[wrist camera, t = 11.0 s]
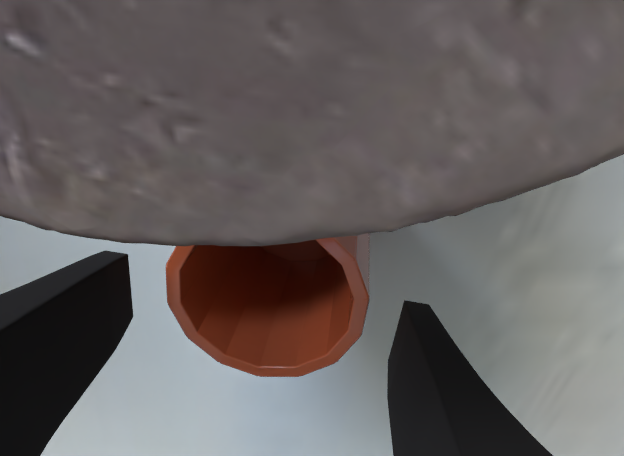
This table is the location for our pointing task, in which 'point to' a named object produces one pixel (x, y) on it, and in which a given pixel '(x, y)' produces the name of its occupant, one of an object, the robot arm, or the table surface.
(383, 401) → the table surface
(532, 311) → the table surface
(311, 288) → the terracotta pipe segment
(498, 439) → the robot arm
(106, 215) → the pillar candle
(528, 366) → the table surface
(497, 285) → the table surface
